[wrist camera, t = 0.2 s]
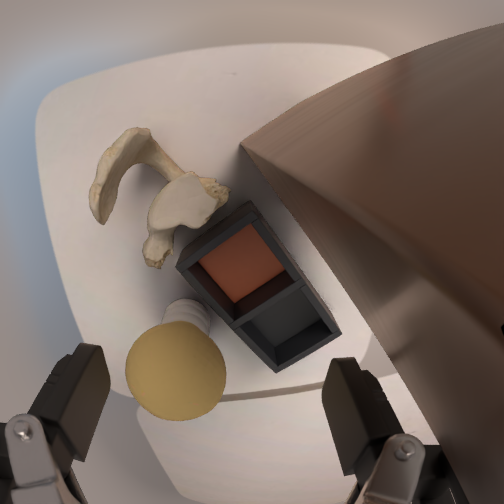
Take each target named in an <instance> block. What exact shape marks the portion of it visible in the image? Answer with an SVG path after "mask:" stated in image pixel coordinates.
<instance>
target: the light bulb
mask: <svg viewBox="0 0 504 504" xmlns="http://www.w3.org/2000/svg"><path fill="white" fill-rule="evenodd" d="M209 329H210V316H209V313H208V311H207V309H206V308H205V307H204V306H203V305H202V304H200V303H199V302H197V301H195V300H191V299H179V300H176V301H174V302H172V303H171V304H170V305H169V306H168V307H167V308H166V310H165V313H164V316H163V319H162V322H161V325H158V326H155V327H153V328H151V329H149V330H148V331H146V332H145V333H143V334H142V335H141V336H140V337H139V338H138V339H137V340H136V341H135V342H134V344H133V346H132V347H131V349H130V351H129V353H128V356H127V359H126V369H125V374H126V380H127V383H128V386H129V389H130V391H131V393H132V395H133V396H134V397H135V399H136V400H137V401H138V403H139V404H140V405H141V406H142V407H143V408H145V409H146V410H147V411H149V412H150V413H151V414H153V415H154V416H156V417H159V418H161V419H165V420H171V421H185V420H190V419H194V418H197V417H200V416H202V415H204V414H206V413H208V412H209V411H211V410H212V409H213V408H214V407H215V406H216V405H217V403H218V402H219V401H220V399H221V396H222V394H223V391H224V388H225V384H226V367H225V362H224V359H223V356H222V354H221V352H220V350H219V348H218V347H217V345H216V344H215V343H214V341H213V340H212V339H211V338H210V337H209Z"/></svg>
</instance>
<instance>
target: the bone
mask: <svg viewBox="0 0 504 504" xmlns="http://www.w3.org/2000/svg"><path fill="white" fill-rule="evenodd" d="M138 163H144V164H147V165H149V166H151V167H153V168H154V169H155V170H157V171H158V172H159V173H160V174H161V175H162V176H163V177H165V178H166V179H167V181H168V182H169V183H168V184H166V186H165V187H164V188H163V189H162V190H161V191H160V192H159V194H158V195H157V196H156V198H155V199H154V200H153V203H152V204H151V206H150V209H149V213H148V218H147V229H148V231H149V238H148V239H147V240H146V241H145V243H144V245H143V250H142V252H143V256H144V259H145V263H146V264H147V265H148V266H149V267H155V268H157V269H161V266H162V265H163V263H164V261H165V258H166V256H168V255H169V254H171V255H172V256H173V240H174V231H175V229H176V227H177V226H179V225H186V226H187V227H189V228H193V229H197V228H200V227H201V226H203V225H204V224H205V223H206V222H207V221H208V220H209V219H210V218H211V215H212V214H213V213H214V212H215V211H216V210H217V209H218V208H219V207H221V206H223V205H224V204H225V203H226V202H228V199H229V196H228V194H229V193H230V192H231V189H229V188H227V187H226V186H221V185H220V184H219V183H215V182H216V179H211V178H200V177H198V176H197V175H196V174H195V173H194V172H192V171H190V172H187V173H185V172H184V171H182V170H181V169H180V168H179V167H178V166H177V165H176V164H175V163H174V162H173V161H172V160H171V159H170V158H169V156H168V155H167V154H166V153H165V152H164V151H163V150H162V149H161V148H160V146H159V145H158V143H157V142H156V141H155V140H153V138H152V136H151V133H150V130H149V129H147V128H138V127H136V128H131V129H128V130H126V131H125V132H124V134H123V135H121V136H120V137H119V138H118V139H117V140H116V141H115V142H114V143H113V145H112V146H111V147H110V148H108V149H107V150H106V151H105V152H104V153H103V155H102V157H101V159H100V161H99V164H98V167H97V172H96V178H95V180H94V182H93V184H92V186H91V188H90V191H89V205H90V209H91V211H92V213H93V216H94V217H95V219H96V220H97V221H98V222H99V223H100V224H102V225H105V223H106V221H107V220H108V217H109V215H110V213H111V212H112V210H113V207H114V204H115V201H116V199H117V193H118V186H119V183H120V181H121V178H122V177H123V175H124V174H125V172H126V171H127V170H128V169H129V168H130V167H131V166H133V165H134V164H138Z"/></svg>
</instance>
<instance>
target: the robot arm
mask: <svg viewBox="0 0 504 504" xmlns="http://www.w3.org/2000/svg"><path fill="white" fill-rule="evenodd" d="M110 384H111V383H110V375H109V371H108V368H107V364H106V361H105V357H104V353H103V349H102V347H101V346H99V345H93V344H87V343H80V344H79V345H78V346H77V348H76V350H75V351H74V353H73V354H72V355H69V354H67V355H66V356H65V357H63V358H62V359H61V360H60V361H58V362H57V364H56V365H55V367H54V368H53V370H52V372H51V374H50V375H49V377H48V378H47V380H46V383H44V385H43V387H42V388H41V390H40V392H39V393H38V395H37V397H36V399H35V400H34V402H33V404H32V406H31V408H30V410H29V411H28V413H27V414H19V415H16V416H14V417H13V418H11V419H10V420H9V422H8V423H0V504H88V502H87V500H86V498H85V496H84V494H83V492H82V490H81V488H80V486H79V483H78V481H77V479H76V477H75V474H74V472H73V470H72V468H71V464H72V461H73V459H75V460H78V461H82V462H85V458H86V455H87V452H88V449H89V446H90V443H91V440H92V437H93V435H94V432H95V429H96V426H97V424H98V421H99V418H100V415H101V413H102V410H103V407H104V405H105V402H106V399H107V397H108V394H109V391H110ZM322 403H323V407H324V410H325V413H326V417H327V420H328V423H329V427H330V430H331V433H332V437H333V440H334V443H335V447H336V450H337V453H338V457H339V460H340V464H341V467H342V470H343V474H344V476H347V475H352V474H355V475H356V478H357V481H356V483H355V484H354V486H353V488H352V490H351V492H350V494H349V496H348V498H347V499H346V501H345V503H344V504H411V502H412V504H455V502H456V504H470V503H469V501H468V499H467V497H466V495H465V493H464V491H463V489H462V487H461V485H460V483H459V481H458V479H457V477H456V475H455V473H454V471H453V469H452V467H451V465H450V463H449V461H448V459H447V457H446V455H445V454H444V452H443V450H442V448H441V446H440V445H423V444H422V442H421V441H420V440H419V439H418V438H416V437H414V436H412V435H410V434H405V432H404V431H403V429H402V427H401V425H400V423H399V421H398V419H397V417H396V415H395V413H394V411H393V409H392V407H391V405H390V403H389V401H387V397H386V395H385V393H384V392H383V389H382V387H381V385H380V383H379V382H378V380H377V378H376V377H374V376H373V375H372V374H371V373H370V372H369V371H368V370H361V369H360V367H359V365H358V363H357V361H356V359H355V358H354V357H346V358H333V359H332V360H331V363H330V366H329V369H328V372H327V375H326V379H325V382H324V385H323V388H322ZM450 489H451V491H450ZM451 492H452V494H453V497H454V499H455V502H454V499H453V497H452V494H451Z"/></svg>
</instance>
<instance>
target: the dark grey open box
mask: <svg viewBox="0 0 504 504" xmlns="http://www.w3.org/2000/svg"><path fill="white" fill-rule="evenodd" d="M175 267H176V269H177V270H178V271H179V272H180V273H181V274H182V276H183V277H184V278H185V279H186V280H187V281H188V282H189V283H190V285H191V286H192V287H193V288H194V289H195V290H196V291H197V292H198V293H199V295H200V296H201V297H202V298H203V299H204V300H205V301H206V302H207V303H208V304H209V305H210V307H211V308H212V309H213V310H214V311H215V312H216V313H217V314H218V315H219V316H220V317H221V318H222V319H223V320H224V322H225V323H226V324H227V325H228V326H229V327H230V328H231V329H232V330H233V331H234V332H235V333H236V334H237V335H238V336H239V337H240V338H241V339H242V340H243V341H244V342H245V343H246V344H247V345H248V347H249V348H250V349H251V350H252V351H253V352H254V353H255V354H256V355H257V356H258V357H259V358H260V359H261V360H262V361H263V362H264V363H265V364H266V365H267V366H268V367H269V368H270V369H272V370H273V371H274V372H275V373H278V372H279V371H281V370H283V369H285V368H287V367H288V366H290V365H292V364H294V363H296V362H297V361H299V360H301V359H302V358H304V357H306V356H308V355H309V354H311V353H313V352H314V351H316V350H318V349H319V348H321V347H323V346H324V345H326V344H328V343H329V342H331V341H332V340H334V339H336V338H337V337H339V336H340V335H342V332H341V330H340V328H339V326H338V324H337V323H336V321H335V319H334V317H333V315H332V313H331V312H330V310H329V309H328V307H327V306H326V304H325V303H324V301H323V300H322V299H321V297H320V296H319V294H318V293H317V292H316V290H315V289H314V287H313V286H312V284H311V283H310V282H309V280H308V279H307V277H306V276H305V275H304V273H303V272H302V270H301V269H300V268H299V266H298V265H297V263H296V262H295V261H294V259H293V258H292V256H291V255H290V254H289V252H288V251H287V249H286V248H285V247H284V245H283V244H282V243H281V241H280V240H279V238H278V237H277V236H276V234H275V233H274V232H273V230H272V229H271V227H270V226H269V225H268V223H267V222H266V221H265V219H264V218H263V217H262V215H261V214H260V213H259V211H258V210H257V208H256V207H255V206H254V204H253V203H252V202H251V201H248V202H247V203H246V204H244V205H243V206H241V207H240V208H239V209H237V210H236V211H234V212H233V213H232V214H230V215H229V216H228V217H226V218H225V219H223V220H222V221H221V222H219V223H218V224H217V225H215V226H214V227H213V228H211V229H210V230H208V231H207V232H206V233H204V234H203V235H202V236H200V237H199V238H198V239H196V240H195V241H194V242H192V243H191V244H190V245H188V246H187V247H186V248H184V249H183V250H182V252H181V254H180V257H179V259H178V261H177V264H176V266H175Z"/></svg>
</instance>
